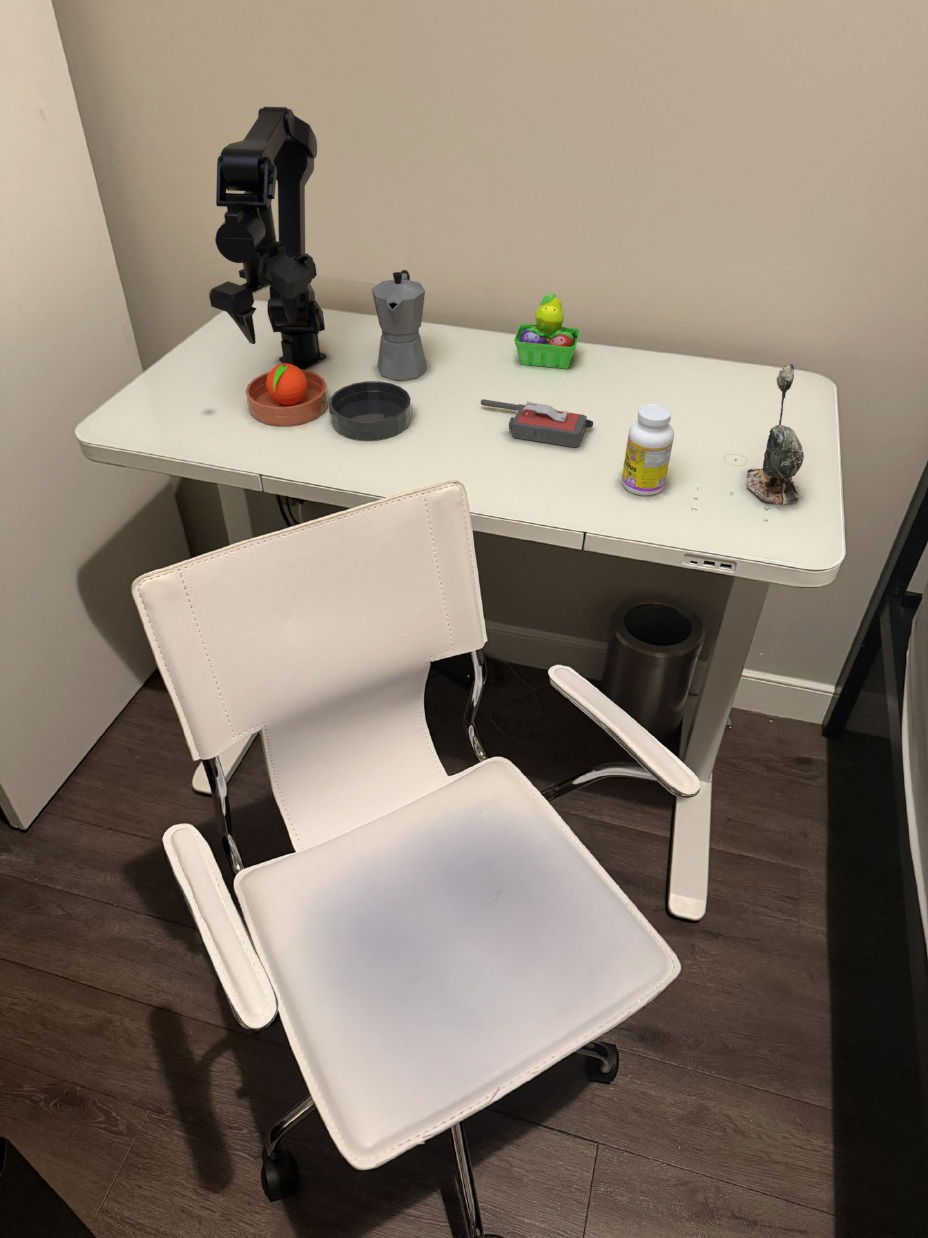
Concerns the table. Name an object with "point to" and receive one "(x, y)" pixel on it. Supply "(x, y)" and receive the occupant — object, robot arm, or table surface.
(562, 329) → the fruit basket
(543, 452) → the table surface
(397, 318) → the coffeepot
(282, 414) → the terracotta bowl
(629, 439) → the supplement bottle
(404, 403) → the charcoal bowl
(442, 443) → the table surface
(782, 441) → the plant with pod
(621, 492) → the table surface
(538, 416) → the walkie-talkie
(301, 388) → the clementine
